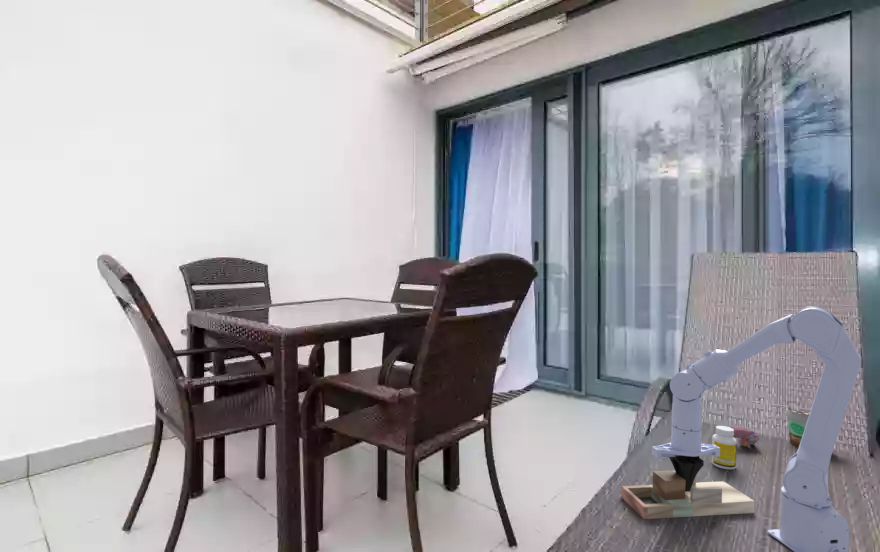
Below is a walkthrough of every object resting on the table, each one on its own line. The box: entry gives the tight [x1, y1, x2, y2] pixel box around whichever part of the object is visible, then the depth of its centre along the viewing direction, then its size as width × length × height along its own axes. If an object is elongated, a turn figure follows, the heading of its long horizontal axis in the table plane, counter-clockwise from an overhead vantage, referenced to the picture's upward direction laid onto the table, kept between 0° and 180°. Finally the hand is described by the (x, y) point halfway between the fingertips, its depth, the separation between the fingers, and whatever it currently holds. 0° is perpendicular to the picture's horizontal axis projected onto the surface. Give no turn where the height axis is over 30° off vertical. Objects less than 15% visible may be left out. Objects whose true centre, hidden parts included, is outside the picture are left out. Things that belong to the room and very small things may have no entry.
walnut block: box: [652, 470, 686, 500], centre depth 96 cm, size 4×4×4 cm
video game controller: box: [726, 425, 760, 447], centre depth 129 cm, size 10×5×7 cm, turn 74°
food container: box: [784, 405, 810, 448], centre depth 129 cm, size 12×6×10 cm, turn 25°
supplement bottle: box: [710, 425, 738, 470], centre depth 116 cm, size 5×5×10 cm
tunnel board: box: [620, 469, 756, 520], centre depth 96 cm, size 9×25×6 cm, turn 97°
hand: (684, 489), depth 96 cm, fingers closed
